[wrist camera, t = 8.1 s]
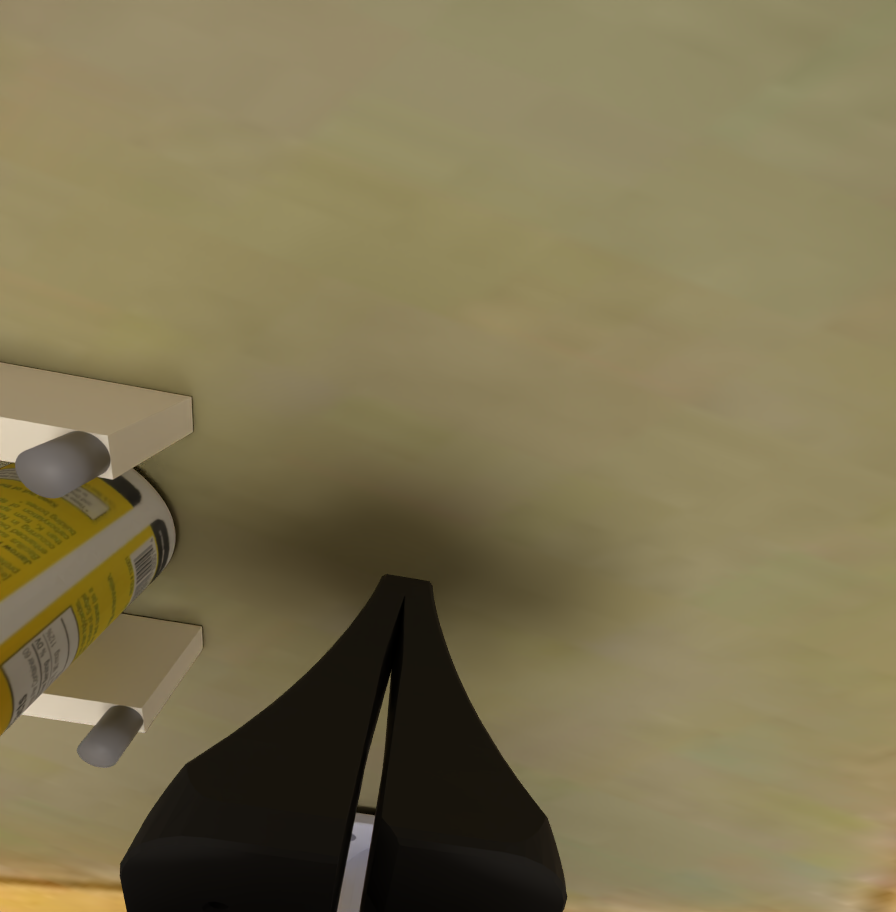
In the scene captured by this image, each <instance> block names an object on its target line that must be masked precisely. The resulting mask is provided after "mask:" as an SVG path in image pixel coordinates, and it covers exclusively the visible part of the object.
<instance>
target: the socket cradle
mask: <svg viewBox="0 0 896 912" xmlns="http://www.w3.org/2000/svg"><path fill="white" fill-rule="evenodd" d="M192 432H193V418H192V397H190V396H184V395H179V394H173V393H168V392H162V391H156V390H151V389H145V388H140V387H134V386H129V385H123V384H118V383H112V382H107V381H101V380H96V379H90V378H85V377H79V376H74V375H68V374H62V373H57V372H51V371H46V370H40V369H35V368H29V367H24V366H18V365H13V364H7V363H2V362H0V460H2V461H8V462H14V463H15V469H16V473H17V475H18V477H19V479H20V480H21V482H22V483H23V484H24V485H25V486H26V487H27V488H28V489H29V490H31V491H32V492H34V493H35V494H37V495H40V496H42V497H46V498H59V497H62V496H64V495H66V494H68V493H69V492H71V491H73V490H75V489H77V488H78V487H80V486H82V485H84V484H85V483H87V482H89V481H91V480H93V479H94V478H96V477H101V478H107V479H115V478H117V477H118V476H120V475H122V474H123V473H125V472H127V471H128V470H130V469H132V468H133V467H135V466H137V465H138V464H140V463H142V462H143V461H145V460H147V459H149V458H150V457H152V456H154V455H155V454H157V453H159V452H160V451H162V450H164V449H165V448H167V447H169V446H170V445H172V444H174V443H175V442H177V441H179V440H180V439H182V438H184V437H185V436H187V435H189V434H190V433H192ZM202 649H203V639H202V626H196V625H189V624H183V623H177V622H171V621H164V620H158V619H152V618H146V617H139V616H133V615H127V614H120V615H119V616H118V617H117V618H116V619H115V620H114V621H113V622H112V623H111V624H110V625H109V626H108V627H107V628H106V629H105V630H104V631H103V632H102V633H101V634H100V635H99V637H98V638H97V639H96V640H95V641H94V642H92V643H91V644H90V645H89V646H88V648H87V649H86V650H85V651H84V652H83V653H82V654H81V655H80V656H79V657H78V658H77V659H76V660H75V661H74V662H73V663H72V664H71V665H70V666H69V667H68V668H67V669H66V670H65V671H64V672H63V673H62V674H61V675H60V676H59V677H58V678H57V679H56V680H55V681H54V682H53V683H52V684H51V685H50V686H49V687H48V688H47V689H46V690H45V691H44V692H43V693H42V694H41V695H40V696H39V697H38V698H37V699H36V700H35V701H34V702H33V703H32V704H31V705H30V706H29V707H28V708H27V709H26V710H25V711H24V712H23V713H22V714H21V715H28V716H35V717H42V718H48V719H55V720H62V721H68V722H75V723H82V724H88V725H95V726H94V727H93V728H92V730H91V731H90V732H89V733H88V735H87V736H86V737H85V738H84V740H83V741H82V742H81V743H80V745H79V746H78V748H77V752H78V755H79V756H80V758H81V759H82V760H84V761H85V762H87V763H88V764H90V765H93V766H96V767H103V768H105V767H111V766H113V765H115V764H116V762H117V761H118V759H119V758H120V757H121V755H122V754H123V752H124V751H125V750H126V748H127V747H128V745H129V744H130V742H131V741H132V740H133V738H134V737H135V735H136V734H137V733H138V732H142V733H145V732H146V731H147V729H148V728H149V726H150V725H151V723H152V722H153V720H154V719H155V718H156V716H157V715H158V713H159V712H160V710H161V709H162V707H163V706H164V705H165V703H166V702H167V700H168V699H169V697H170V696H171V694H172V693H173V691H174V690H175V689H176V687H177V686H178V684H179V683H180V681H181V680H182V678H183V677H184V675H185V674H186V673H187V671H188V670H189V668H190V667H191V665H192V664H193V662H194V661H195V659H196V658H197V657H198V655H199V654H200V652H201V651H202Z"/></svg>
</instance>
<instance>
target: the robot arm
mask: <svg viewBox="0 0 896 912" xmlns="http://www.w3.org/2000/svg"><path fill="white" fill-rule="evenodd" d="M391 669H392V670H391ZM390 673H391V682H390V694H389V705H388V717H387V729H386V741H385V753H384V762H383V770H382V777H381V783H380V789H379V795H378V801H377V807H376V813H375V815H369V814H362V813H356V811H357V805H358V800H359V795H360V790H361V785H362V780H363V774H364V769H365V765H366V761H367V757H368V753H369V749H370V745H371V742H372V738H373V734H374V731H375V727H376V724H377V720H378V716H379V713H380V709H381V706H382V702H383V698H384V695H385V691H386V687H387V684H388V680H389V677H390ZM120 879H121V884H122V889H123V894H124V899H125V904H126V909H127V912H563V910H564V907H565V904H566V900H567V894H566V885H565V878H564V873H563V869H562V865H561V861H560V857H559V853H558V850H557V846H556V843H555V839H554V836H553V833H552V830H551V827H550V824H549V821H548V818H547V816H546V815H545V814H544V813H543V811H542V810H541V809H540V808H539V806H538V805H537V804H536V803H535V801H534V800H533V799H532V797H531V796H530V795H529V793H528V792H527V791H526V789H525V788H524V787H523V785H522V784H521V783H520V781H519V780H518V779H517V777H516V776H515V774H514V773H513V771H512V770H511V768H510V767H509V765H508V764H507V762H506V761H505V760H504V758H503V757H502V755H501V753H500V752H499V750H498V749H497V747H496V745H495V744H494V742H493V740H492V739H491V737H490V735H489V734H488V732H487V731H486V729H485V727H484V726H483V724H482V722H481V721H480V719H479V717H478V715H477V713H476V711H475V709H474V707H473V706H472V704H471V702H470V700H469V698H468V696H467V694H466V691H465V689H464V687H463V685H462V683H461V681H460V678H459V676H458V674H457V671H456V669H455V666H454V664H453V661H452V659H451V656H450V654H449V651H448V648H447V645H446V642H445V639H444V636H443V633H442V630H441V626H440V623H439V619H438V615H437V611H436V607H435V602H434V596H433V585H432V584H431V583H430V581H424V580H418V579H412V578H406V577H400V576H394V575H388V574H386V575H384V576H382V578H381V580H380V582H379V584H378V586H377V588H376V589H375V591H374V593H373V594H372V596H371V598H370V599H369V601H368V602H367V604H366V605H365V607H364V608H363V609H362V611H361V612H360V613H359V615H358V616H357V617H356V619H355V620H354V621H353V623H352V624H351V625H350V626H349V628H348V629H347V630H346V631H345V632H344V634H343V635H342V636H341V637H340V638H339V639H338V641H337V642H336V643H335V644H334V645H333V646H332V648H331V649H330V650H329V651H328V652H327V653H326V654H325V655H324V656H323V657H322V658H321V659H320V660H319V661H318V662H317V663H316V664H315V665H314V666H313V667H312V668H311V669H310V670H309V671H308V672H307V673H306V674H305V675H304V676H303V677H302V678H301V679H300V680H298V681H297V682H296V683H295V684H294V685H293V686H292V687H291V688H290V689H288V690H287V691H286V692H285V693H284V694H283V695H282V696H280V697H279V698H278V699H277V700H276V701H274V702H273V703H272V704H271V705H269V706H268V707H267V708H265V709H264V710H263V711H262V712H260V713H259V714H258V715H256V716H255V717H254V718H252V719H251V720H250V721H248V722H247V723H246V724H245V725H243V726H242V727H241V728H239V729H238V730H236V731H235V732H234V733H232V734H231V735H229V736H228V737H226V738H225V739H223V740H222V741H220V742H219V743H217V744H216V745H214V746H213V747H211V748H210V749H208V750H207V751H205V752H204V753H202V754H201V755H199V756H197V757H196V758H194V759H193V760H191V761H190V762H188V763H187V764H185V766H184V767H183V768H182V769H181V771H180V772H179V773H178V774H177V776H176V777H175V778H174V779H173V781H172V782H171V783H170V784H169V786H168V787H167V789H166V790H165V791H164V793H163V794H162V796H161V797H160V798H159V800H158V801H157V803H156V804H155V805H154V807H153V808H152V810H151V811H150V813H149V814H148V816H147V818H146V819H145V821H144V823H143V824H142V826H141V828H140V830H139V832H138V833H137V835H136V837H135V839H134V840H133V842H132V844H131V846H130V847H129V849H128V851H127V853H126V855H125V856H124V858H123V860H122V862H121V863H120Z"/></svg>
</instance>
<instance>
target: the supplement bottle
mask: <svg viewBox="0 0 896 912" xmlns="http://www.w3.org/2000/svg"><path fill="white" fill-rule="evenodd" d="M175 538H176V534H175V527H174V522H173V519H172V516H171V513H170V511H169V509H168V507H167V505H166V504H165V502H164V500H163V499H162V498H161V496H160V495H159V494H158V492H157V491H156V490H155V489H154V488H153V487H152V485H151V484H150V483H149V482H148V481H147V480H146V479H145V478H144V477H143V476H142V475H140V474H139V473H138V472H137V471H136V470H134V469H133V468H132V469H130V470H128V471H127V472H125V473H123V474H122V475H120V476H118V477H117V478H115V479H107V478H101V477H96V478H94V479H93V480H91V481H89V482H87V483H85V484H84V485H82V486H80V487H78V488H77V489H75V490H73V491H71V492H69V493H68V494H66V495H64V496H62V497H59V498H46V497H42V496H40V495H37V494H35V493H34V492H32V491H31V490H29V489H28V488H27V487H26V486H25V485H24V484H23V483H22V482H21V480H20V479H19V477H18V475H17V473H16V469H15V463H14V462H13V463H11V464H9V465H7V466H4V467H2V468H0V736H1V735H2V734H3V733H4V732H5V731H6V730H7V729H8V728H9V727H10V726H11V725H12V724H13V723H14V722H15V720H16V719H17V718H18V717H19V716H20V715H21V714H22V713H23V712H24V711H25V710H26V709H27V708H28V707H29V706H30V705H31V704H32V703H33V702H34V701H35V700H36V699H37V698H38V697H39V696H40V695H41V694H42V693H43V692H44V691H45V690H46V689H47V688H48V687H49V686H50V685H51V684H52V683H53V682H54V681H55V680H56V679H57V678H58V677H59V676H60V675H61V674H62V673H63V672H64V671H65V670H66V669H67V668H68V667H69V666H70V665H71V664H72V663H73V662H74V661H75V660H76V659H77V658H78V657H79V656H80V655H81V654H82V653H83V652H84V651H85V650H86V649H87V648H88V646H89V645H90V644H91V643H92V642H94V641H95V640H96V639H97V638H98V637H99V635H100V634H101V633H102V632H103V631H104V630H105V629H106V628H107V627H108V626H109V625H110V624H111V623H112V622H113V621H114V620H115V619H116V618H117V617H118V616H119V615H120V614H121V613H122V612H123V611H124V610H125V609H126V608H127V607H128V606H129V605H130V604H131V603H132V602H133V601H134V600H135V599H136V598H137V597H138V596H139V595H140V593H141V592H142V591H143V590H144V589H145V588H146V587H147V586H148V585H149V584H150V583H151V582H152V581H153V580H154V579H155V578H156V577H157V576H158V575H159V574H160V573H161V572H162V571H163V570H164V568H165V567H166V566H167V564H168V563H169V561H170V559H171V557H172V554H173V551H174V547H175Z"/></svg>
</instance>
